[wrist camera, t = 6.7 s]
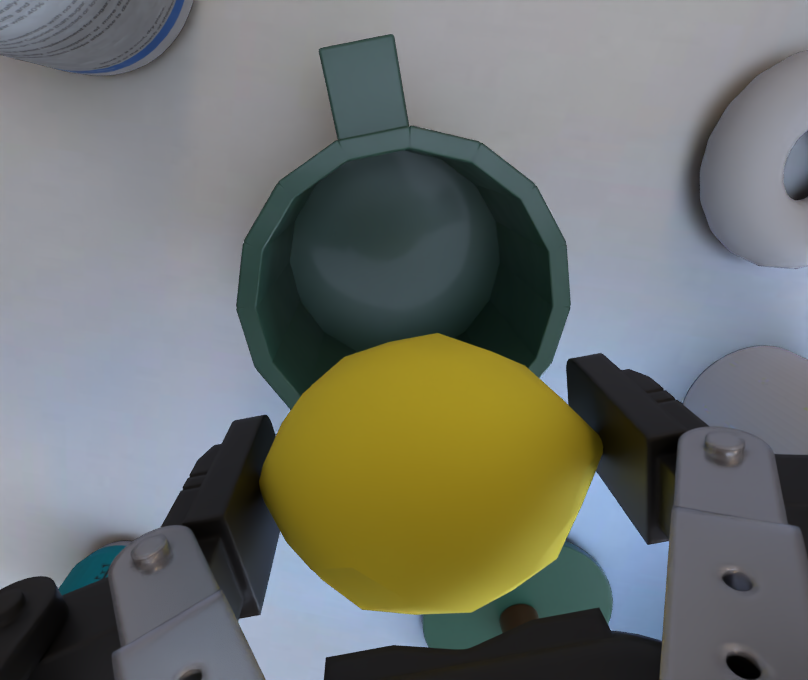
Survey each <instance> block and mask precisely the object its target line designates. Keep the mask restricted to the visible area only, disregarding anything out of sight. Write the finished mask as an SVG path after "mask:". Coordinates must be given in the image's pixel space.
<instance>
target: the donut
mask: <svg viewBox="0 0 808 680" xmlns="http://www.w3.org/2000/svg"><path fill="white" fill-rule="evenodd" d="M806 131H808V50H806V51H802V52H798V53H796V54H794V55H792V56H789V57H788V58H786V59H784V60H783V61H781V62H779V63H778V64H776V65H774V66H773V67H771V68H769V69H768V70H766V71H764V72H762V73H761V74H759V75H757V76H756V77H755V78H754V79H753V80H752V81H751V83H750V84H749V85H748V86H747V87H746V88H745V89H744V90H743V91H742V92H741V93H740V94H739V95H738V96H737V97H736V98H735V99H734V100H733V101H732V102H731V103H730V104H729V105H728V107H727V108H726V110H725V111H724V113H723V115H722V117H721V118H720V120H719V122H718V123H717V125H716V127H715V129H714V130H713V132H712V134H711V135H710V137H709V139H708V143H707V147H706V150H705V154H704V157H703V161H702V164H701V168H700V202H701V204H702V207H703V210H704V213H705V216H706V218H707V221H708V224H709V227H710V230H711V231H712V232H713V234H714V235H715V236H716V237H717V238H718V239H719V240H720V242H721V243H722V244H723V245H724V246H725V247H726V248H727V249H728V251H730V252H732V253H733V254H735V255H737V256H739V257H741V258H743V259H745V260H748V261H750V262H752V263H754V264H756V265H758V266H765V267H777V268H789V269H798V268H803V267H807V266H808V197H806V198H804V199H801V200H793V199H792V198H790V197H789V196H788V194H787V193H786V189H785V186H784V182H783V179H784V167H785V164H786V161H787V158H788V155H789V152H790V151H791V149H792V148H793V146H794V145H795V143H796V142H797V140H798V139H799V138H800V137H801V136H802V135H803V134H804V133H805V132H806Z"/></svg>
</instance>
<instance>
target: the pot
mask: <svg viewBox="0 0 808 680" xmlns="http://www.w3.org/2000/svg"><path fill="white" fill-rule="evenodd" d="M319 55H320V60H321V64H322V69H323V73H324V78H325V83H326V87H327V92H328V97H329V101H330V106H331V111H332V115H333V120H334V125H335V129H336V134H337V139H338V140H336V141H334V142H333V143H332V144H330V145H329V146H327V147H326V148H325V149H323V150H322V151H320V152H319V153H318V154H316V155H315V156H313V157H312V158H311V159H309V160H308V161H306V162H305V163H304V164H302V165H301V166H299V167H298V168H297V169H295V170H294V171H292V172H291V173H290V174H288V175H287V176H285V177H284V178H283V179H281V180H280V181H279V183H278V184H277V185H276V186H275V188H274V190H273V191H272V193H271V195H270V197H269V198H268V200H267V202H266V203H265V205H264V207H263V209H262V210H261V212H260V214H259V215H258V217H257V219H256V221H255V222H254V224H253V226H252V227H251V229H250V231H249V233H248V234H247V236H246V238H245V240H244V243H243V246H242V256H241V265H240V275H239V284H238V294H237V303H236V306H237V309H236V310H237V313H238V316H239V319H240V322H241V326H242V329H243V332H244V335H245V338H246V341H247V344H248V348H249V351H250V354H251V357H252V360H253V363H254V366H255V368H256V369H257V371H258V372H259V373H260V374H261V375H262V377H263V378H264V379H265V380H266V381H267V382H268V384H269V385H270V386H271V387H272V388H273V390H274V391H275V392H276V393H277V394H278V395H279V397H280V398H281V399H282V400H283V401H284V403H285V404H286V405H287V406H288V407H289V408H290V410H292V408H293V407H294V405H295V404H296V402H297V401H298V400H299V398H300V397H301V395H302V394H303V393H304V392H305V391H306V390H307V389H309V388H310V387H311V385H312V384H314V383H315V382H316V381H317V380H318V379H319V378H321V377H322V376H323V375H324V374H325V373H326V372H328V371H329V370H330V369H331V368H332V367H333V366H334V365H336V364H337V363H338V362H339V361H340V360H341V359H343V358H344V357H346V356H349V355H352V354H355V353H358V352H361V351H364V350H367V349H370V348H373V347H376V346H379V345H381V344H384V343H387V342H391V341H397V340H402V339H407V338H413V337H418V336H424V335H429V334H434V333H439V334H442V335H445V336H448V337H451V338H454V339H457V340H460V341H462V342H465V343H468V344H471V345H474V346H477V347H480V348H483V349H486V350H489V351H491V352H494V353H496V354H499V355H501V356H503V357H506V358H508V359H510V360H513V361H515V362H517V363H520V364H522V365H524V366H526V367H527V368H528V369H529V370H530V371H531V372H533V373H534V374H535V375H536V376H537V377H538V378H539V379H540V377H541V376H542V375H543V374H544V373H545V371H546V370H547V369H548V368H549V367H550V364H551V363H552V361H553V358H554V355H555V352H556V349H557V346H558V343H559V340H560V337H561V334H562V331H563V328H564V325H565V322H566V319H567V316H568V314H569V311H570V305H571V303H570V288H569V273H568V259H567V245H566V241H565V239H564V237H563V235H562V233H561V231H560V230H559V228H558V226H557V224H556V222H555V220H554V218H553V216H552V214H551V212H550V210H549V209H548V207H547V205H546V203H545V201H544V199H543V197H542V195H541V193H540V191H539V190H538V188H537V186H536V185H535V184H534V183H533V182H532V181H531V180H529V179H528V178H527V177H525V176H524V175H523V174H522V173H520V172H519V171H518V170H516V169H515V168H514V167H513V166H511V165H510V164H509V163H507V162H506V161H505V160H504V159H502V158H501V157H500V156H498V155H497V154H496V153H495V152H493V151H492V150H491V149H489V148H488V147H487V146H486V145H484V144H483V143H480V142H479V141H475V140H471V139H467V138H462V137H458V136H454V135H450V134H445V133H441V132H437V131H433V130H428V129H424V128H420V127H416V126H410V127H409V122H408V116H407V110H406V104H405V98H404V92H403V86H402V80H401V74H400V68H399V62H398V56H397V50H396V44H395V38H394V35H393V34H388V35H383V36H378V37H373V38H368V39H363V40H358V41H353V42H348V43H343V44H338V45H333V46H328V47H323V48H320V49H319Z"/></svg>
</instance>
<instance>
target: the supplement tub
mask: <svg viewBox="0 0 808 680" xmlns="http://www.w3.org/2000/svg"><path fill="white" fill-rule="evenodd" d="M192 3H193V0H0V55H3V56H7V57H11V58H15V59H19V60H23V61H27V62H31V63H35V64H39V65H42V66H46V67H50V68H54V69H58V70H62V71H67V72H72V73H78V74H84V75H97V76H100V75H115V74H121V73H125V72H129V71H132V70H135V69H137V68H140V67H142V66H144V65H146V64H148V63H149V62H151V61H153V60H154V59H155V58H157V57H158V56H159V55H161V54H162V53H163V52H164V51H165V50H166V49H167V48H168V47H169V46H170V45H171V43H172V42H173V41H174V40H175V39H176V37H177V36H178V34H179V32H180V31H181V29H182V28H183V26H184V24H185V22H186V20H187V17H188V15H189V12H190V9H191V6H192Z"/></svg>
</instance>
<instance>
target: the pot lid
mask: <svg viewBox="0 0 808 680" xmlns="http://www.w3.org/2000/svg"><path fill="white" fill-rule="evenodd" d="M612 604H613V598H612V591H611V587H610V584H609V581H608V579H607V578H606V576H605V574H604V572H603V570H602V568H601V567H600V566H599V564H598V563H597V562H596V561H595V560H594V559H593V558H592V557H591V556H590V555H589V554H588V553H587V552H585V551H584V550H582V549H580V548H579V547H577V546H575V545H573V544H571V543H569V542H566V541H565V542H564V545H563V547H562V549H561V551H560V553H559V555H558V557H557V559H556V560H554V561H553V562H552V563H550V564H549V565H547V566H546V567H545V568H543V569H542V570H540V571H539V572H538V573H536V574H535V575H533V576H532V577H531V578H529V579H528V580H526V581H525V582H524V583H522V584H521V585H519V586H518V587H517V588H515V589H514V590H512V591H510V592H509V593H507V594H505V595H503V596H501V597H499V598H497V599H496V600H494V601H492V602H490V603H488V604H486V605H484V606H483V607H481V608H479V609H477V610H475V611H473V612H471V613H445V614H422V624H423V632H424V637H425V640H426V643H427V645H428V647H429V648H443V649H468V648H471V647H473V646H476V645H478V644H480V643H482V642H484V641H487V640H489V639H491V638H493V637H495V636H497V635H500V634H502V633H504V632H506V631H508V630H511V629H513V628H515V627H517V626H519V625H522V624H524V623H526V622H528V621H530V620H533V619H539V618H544V617H550V616H555V615H561V614H566V613H571V612H577V611H582V610H588V609H593V608H600V610H601V612H602V614H603V616H604V618H605V620H606V622H607V624H608V623H609V621H610V618H611V613H612Z"/></svg>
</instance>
